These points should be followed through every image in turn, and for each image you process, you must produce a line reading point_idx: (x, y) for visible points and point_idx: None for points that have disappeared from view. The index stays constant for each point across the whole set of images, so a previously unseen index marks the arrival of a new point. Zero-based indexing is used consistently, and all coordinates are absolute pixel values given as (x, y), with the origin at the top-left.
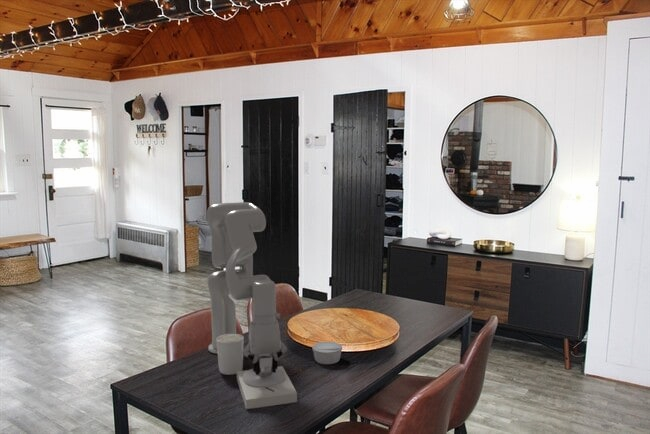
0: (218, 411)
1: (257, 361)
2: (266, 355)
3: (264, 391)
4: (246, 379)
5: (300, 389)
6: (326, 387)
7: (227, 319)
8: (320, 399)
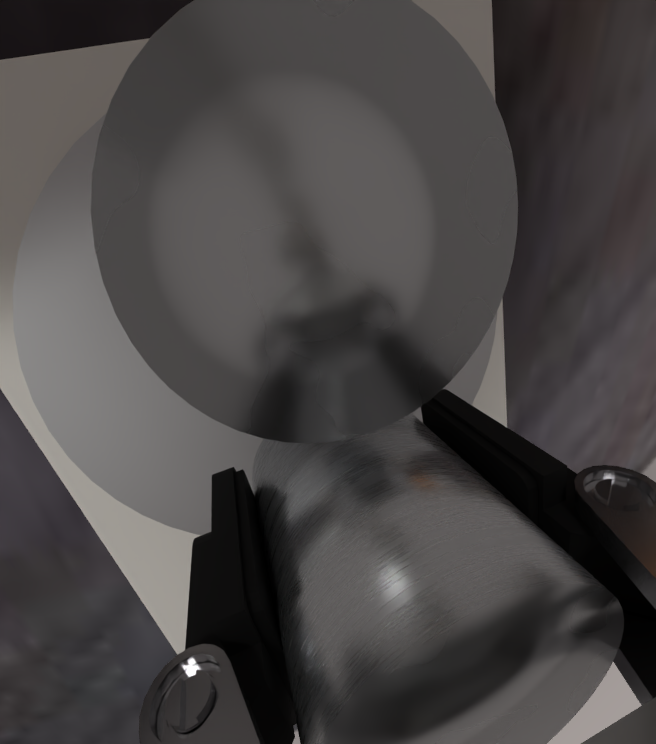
0: (19, 690)
1: (281, 647)
2: (511, 691)
3: None
4: (116, 467)
5: (514, 362)
6: (641, 332)
7: None
8: (574, 466)
